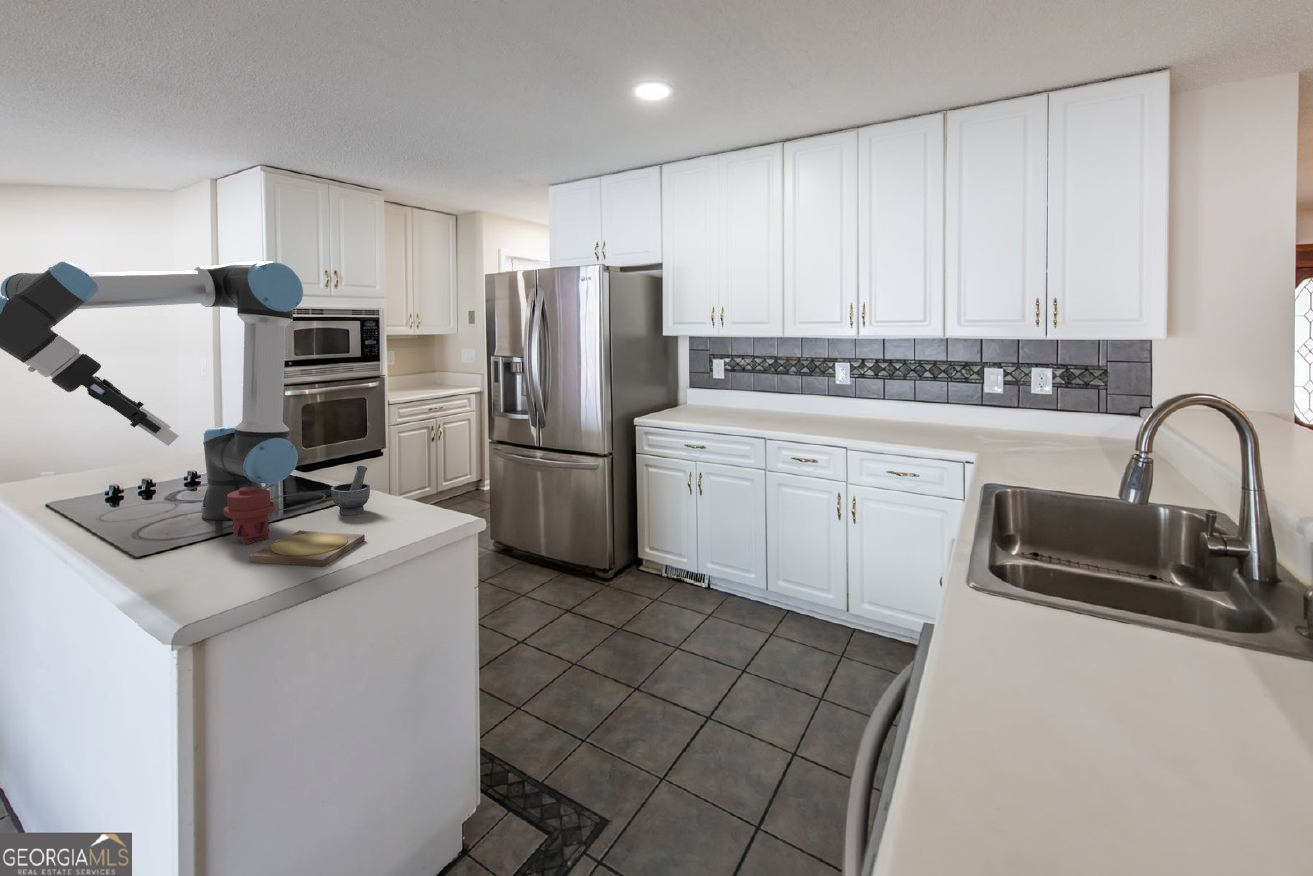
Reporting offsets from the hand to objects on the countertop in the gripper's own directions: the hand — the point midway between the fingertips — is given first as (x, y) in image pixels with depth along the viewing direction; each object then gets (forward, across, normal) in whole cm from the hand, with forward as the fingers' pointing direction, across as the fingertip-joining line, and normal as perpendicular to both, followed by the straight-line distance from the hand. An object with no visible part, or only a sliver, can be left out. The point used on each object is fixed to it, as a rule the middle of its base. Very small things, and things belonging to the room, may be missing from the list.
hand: (169, 435), depth 135 cm
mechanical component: (+28, +1, -9) cm, 29 cm away
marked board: (+34, +16, -2) cm, 37 cm away
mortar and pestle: (+46, -10, +10) cm, 48 cm away
